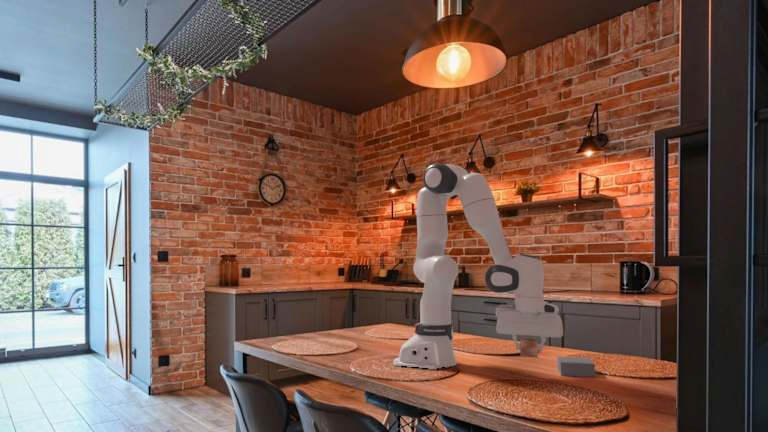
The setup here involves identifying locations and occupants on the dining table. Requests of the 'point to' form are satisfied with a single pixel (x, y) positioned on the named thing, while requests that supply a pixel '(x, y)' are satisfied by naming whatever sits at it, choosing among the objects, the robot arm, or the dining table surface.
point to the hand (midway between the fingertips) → (528, 350)
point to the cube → (529, 347)
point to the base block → (576, 366)
